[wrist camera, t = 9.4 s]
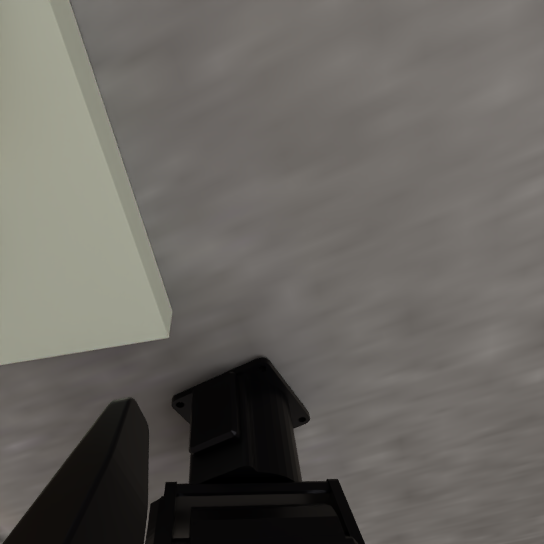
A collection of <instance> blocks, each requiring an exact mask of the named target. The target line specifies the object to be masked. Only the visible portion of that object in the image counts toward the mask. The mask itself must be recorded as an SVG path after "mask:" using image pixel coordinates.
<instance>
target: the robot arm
mask: <svg viewBox="0 0 544 544" xmlns="http://www.w3.org/2000/svg"><path fill="white" fill-rule="evenodd" d="M260 366H263V367H260ZM172 407H173V408H174V409H175V410H176V411H177V412H178V413H179V414H180V415H181V416H182V417H183V418H184V419H185V420H186V421H187V422H189V423H190V438H189V453H191V455H190V472H189V484H177V482H166V484H165V492H164V496H161V498H160V499H158V500H157V501H155V502H153V503H151V505H150V513H149V521H148V528H147V535H146V541H145V544H365V543H364V540H363V538H362V535H361V533H360V531H359V528H358V526H357V524H356V521H355V519H354V516H353V514H352V512H351V509H350V507H349V505H348V502H347V500H346V497H345V495H344V493H343V490H342V488H341V485H340V483H339V481H338V479H327V480H326V481H307V482H302V478H301V472H300V466H299V460H298V454H297V448H296V442H295V436H294V430H293V429H294V428H296V427H299V426H301V425H304V424H306V423H308V422H309V421H310V416H309V412H308V411H307V409H306V408H305V407H304V405H303V404H302V403H301V401H300V400H299V399H298V398H297V396H296V395H295V394H294V392H293V391H292V390H291V388H290V387H289V386H288V384H287V383H286V382H285V380H284V379H283V378H282V376H281V375H280V374H279V372H278V371H277V370H276V369H275V367H274V366H273V365H272V363H271V362H270V361H269V360H268V359H267V358H258V359H255V360H253V361H251V362H249V363H246V364H244V365H242V366H240V367H237V368H235V369H233V370H231V371H228V372H226V373H224V374H222V375H219V376H217V377H215V378H213V379H210V380H208V381H206V382H204V383H201V384H199V385H197V386H195V387H192V388H190V389H188V390H186V391H183V392H181V393H179V394H177V395H175V396H174V397H173V398H172ZM148 459H149V429H148V424H147V421H146V419H145V417H144V416H143V414H142V412H141V410H140V408H139V406H138V404H137V402H136V401H135V399H133V398H130V397H128V398H123V399H118V400H114V401H112V402H111V403H110V404H109V405H108V406H107V407H106V409H105V410H104V411H103V413H102V414H101V415H100V416H99V418H98V419H97V420H96V422H95V423H94V424H93V426H92V427H91V428H90V430H89V431H88V432H87V433H86V435H85V436H84V437H83V439H82V440H81V441H80V443H79V444H78V445H77V447H76V448H75V449H74V451H73V452H72V453H71V454H70V456H69V457H68V458H67V460H66V461H65V462H64V464H63V465H62V466H61V468H60V469H59V470H58V471H57V473H56V474H55V475H54V477H53V478H52V479H51V481H50V482H49V483H48V485H47V486H46V487H45V489H44V490H43V491H42V492H41V494H40V495H39V496H38V498H37V499H36V500H35V502H34V503H33V504H32V506H31V507H30V508H29V509H28V511H27V512H26V513H25V515H24V516H23V517H22V519H21V520H20V521H19V523H18V524H17V525H16V527H15V528H14V529H13V530H12V532H11V533H10V534H9V536H8V537H7V538H6V540H5V541H4V542H3V544H144V536H145V528H146V519H147V508H148Z"/></svg>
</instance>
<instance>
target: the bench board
mask: <svg viewBox="0 0 544 544" xmlns="http://www.w3.org/2000/svg"><path fill="white" fill-rule="evenodd" d="M171 318H172V308H171V305H170V302H169V299H168V296H167V293H166V290H165V287H164V284H163V281H162V278H161V275H160V272H159V269H158V266H157V263H156V260H155V257H154V254H153V251H152V248H151V245H150V242H149V239H148V236H147V233H146V230H145V227H144V224H143V221H142V218H141V215H140V212H139V209H138V206H137V203H136V200H135V197H134V194H133V191H132V188H131V185H130V182H129V179H128V176H127V173H126V170H125V167H124V164H123V161H122V158H121V155H120V152H119V149H118V146H117V143H116V140H115V137H114V134H113V131H112V128H111V125H110V122H109V119H108V116H107V113H106V110H105V107H104V103H103V100H102V97H101V94H100V91H99V88H98V85H97V82H96V79H95V76H94V73H93V70H92V67H91V64H90V61H89V58H88V55H87V52H86V49H85V46H84V43H83V40H82V37H81V34H80V31H79V28H78V25H77V22H76V19H75V16H74V13H73V10H72V7H71V4H70V1H69V0H0V365H5V364H11V363H17V362H23V361H29V360H35V359H41V358H48V357H54V356H60V355H66V354H72V353H78V352H84V351H91V350H97V349H103V348H109V347H115V346H121V345H128V344H134V343H140V342H146V341H152V340H158V339H164V338H169V333H170V326H171Z"/></svg>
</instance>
